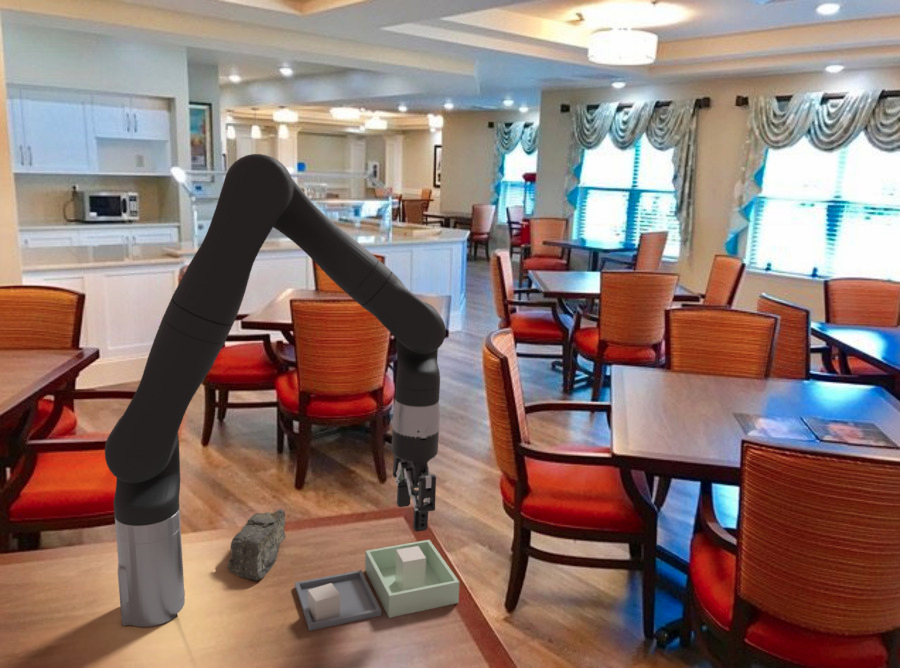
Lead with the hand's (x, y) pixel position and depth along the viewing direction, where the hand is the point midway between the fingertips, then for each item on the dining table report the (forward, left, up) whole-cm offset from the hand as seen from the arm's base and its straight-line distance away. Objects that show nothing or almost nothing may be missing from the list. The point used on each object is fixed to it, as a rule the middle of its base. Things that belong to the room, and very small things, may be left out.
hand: (411, 517), depth 118 cm
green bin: (0, 0, -14) cm, 14 cm away
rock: (-23, +18, -14) cm, 32 cm away
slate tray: (-13, 0, -14) cm, 19 cm away
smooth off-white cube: (-15, -3, -13) cm, 20 cm away
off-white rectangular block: (0, 0, -13) cm, 13 cm away
